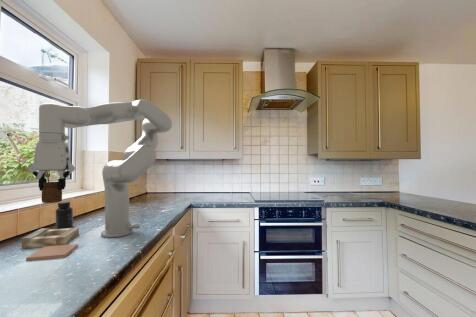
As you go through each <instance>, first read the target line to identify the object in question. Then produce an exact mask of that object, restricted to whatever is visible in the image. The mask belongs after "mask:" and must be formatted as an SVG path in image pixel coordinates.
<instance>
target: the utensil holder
mask: <svg viewBox="0 0 476 317" xmlns="http://www.w3.org/2000/svg"><path fill="white" fill-rule="evenodd" d="M53 174H57V176H55V177H54V175H53ZM52 175H53V176H52ZM45 178H46V179H47V182H45V183H43V186H44V187H43V188H42V191H41V203H43V204H55V203H60V202H63V201H62V200H63V190H58V178H60V176H59V173H58V171H53V172H51V173H50V171H47V172H46V173H45ZM50 178H51V180H50ZM54 179H55V180H56V181H54Z"/></svg>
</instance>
